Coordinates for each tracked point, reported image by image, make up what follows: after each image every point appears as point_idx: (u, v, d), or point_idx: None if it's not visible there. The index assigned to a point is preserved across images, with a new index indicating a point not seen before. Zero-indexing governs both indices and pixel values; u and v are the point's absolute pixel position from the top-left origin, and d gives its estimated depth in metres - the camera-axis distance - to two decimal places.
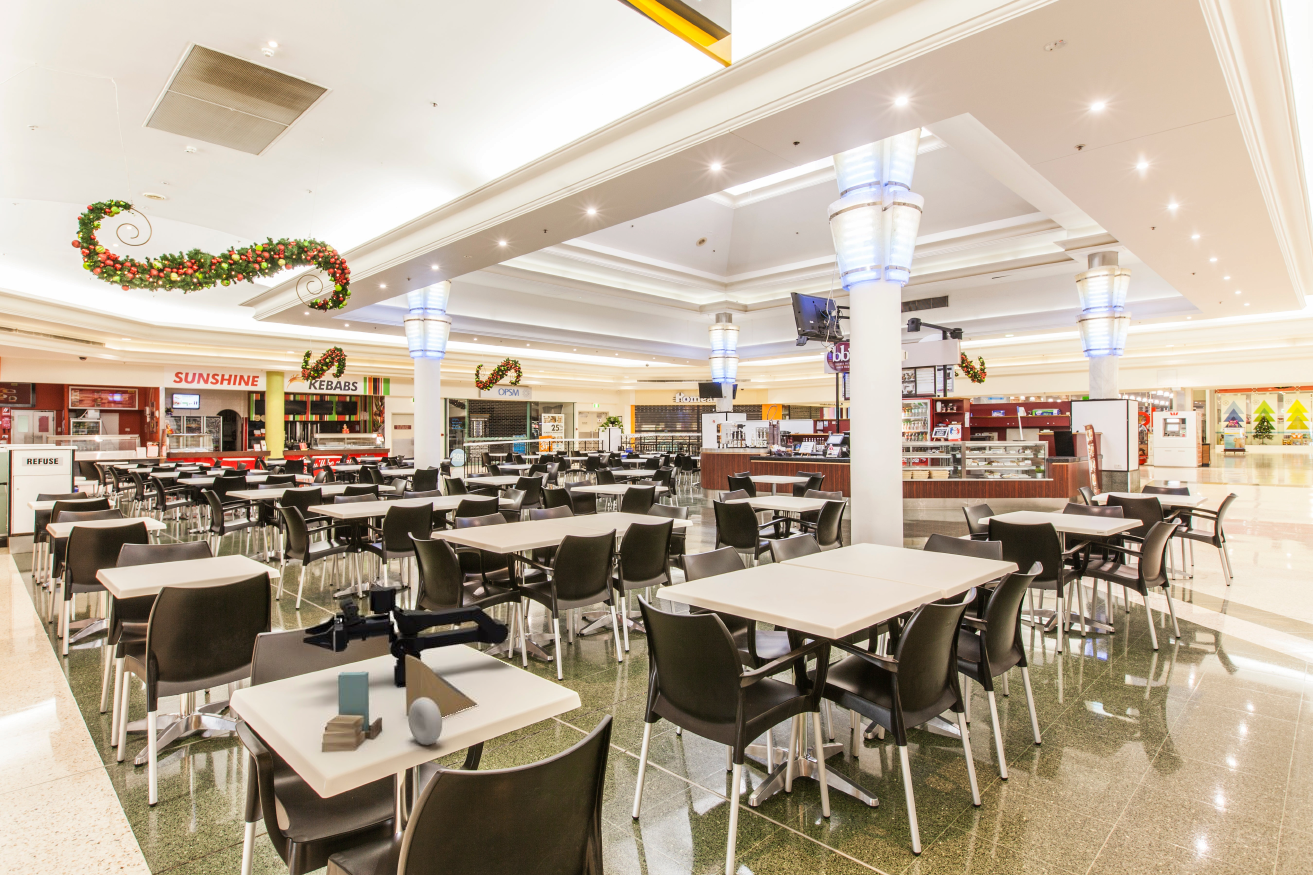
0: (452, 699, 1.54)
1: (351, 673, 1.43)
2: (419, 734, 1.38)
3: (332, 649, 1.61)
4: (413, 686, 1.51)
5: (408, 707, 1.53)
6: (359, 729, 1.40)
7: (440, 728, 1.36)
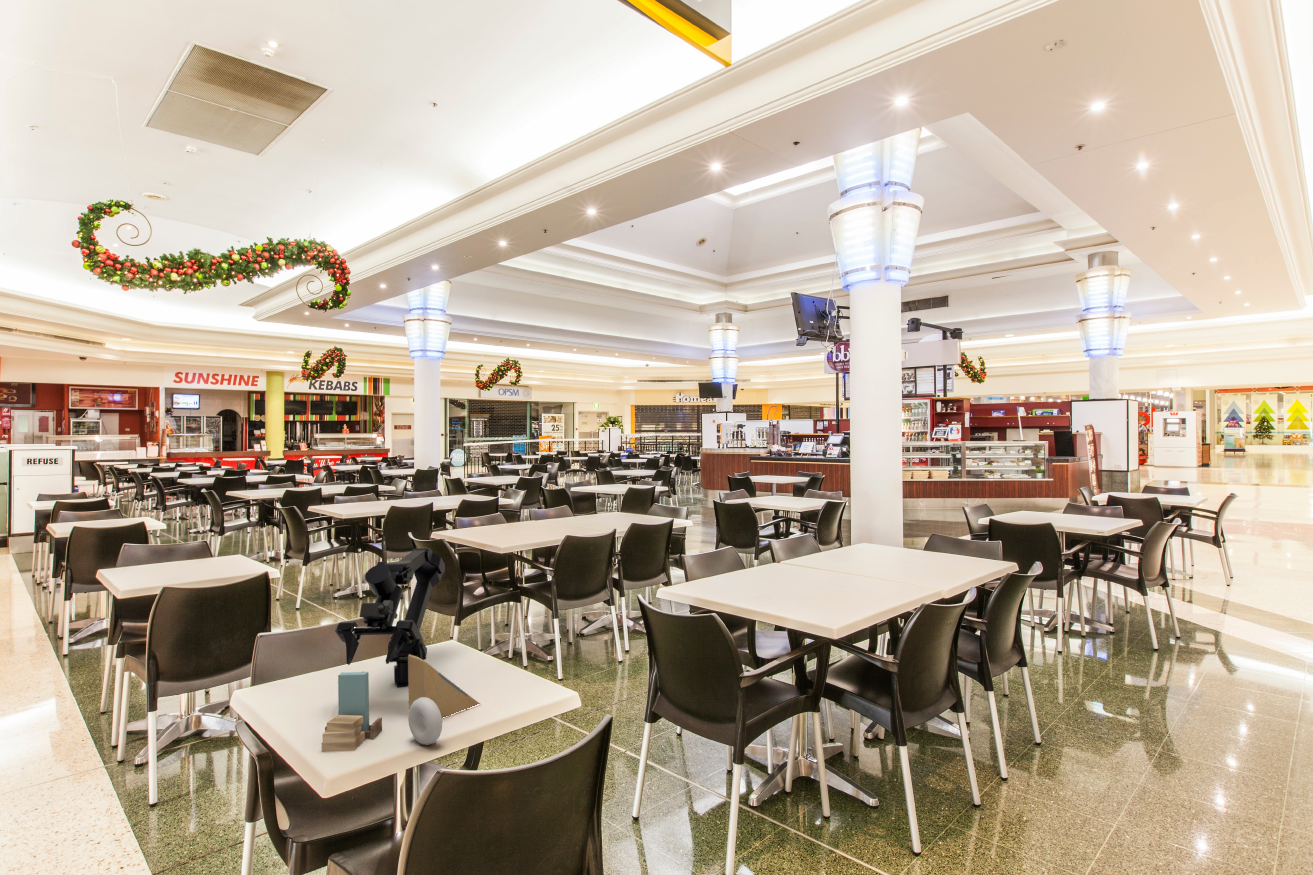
0: (455, 699, 1.54)
1: (351, 673, 1.43)
2: (419, 734, 1.38)
3: (410, 641, 1.58)
4: (416, 686, 1.51)
5: None
6: (359, 729, 1.40)
7: (440, 728, 1.36)
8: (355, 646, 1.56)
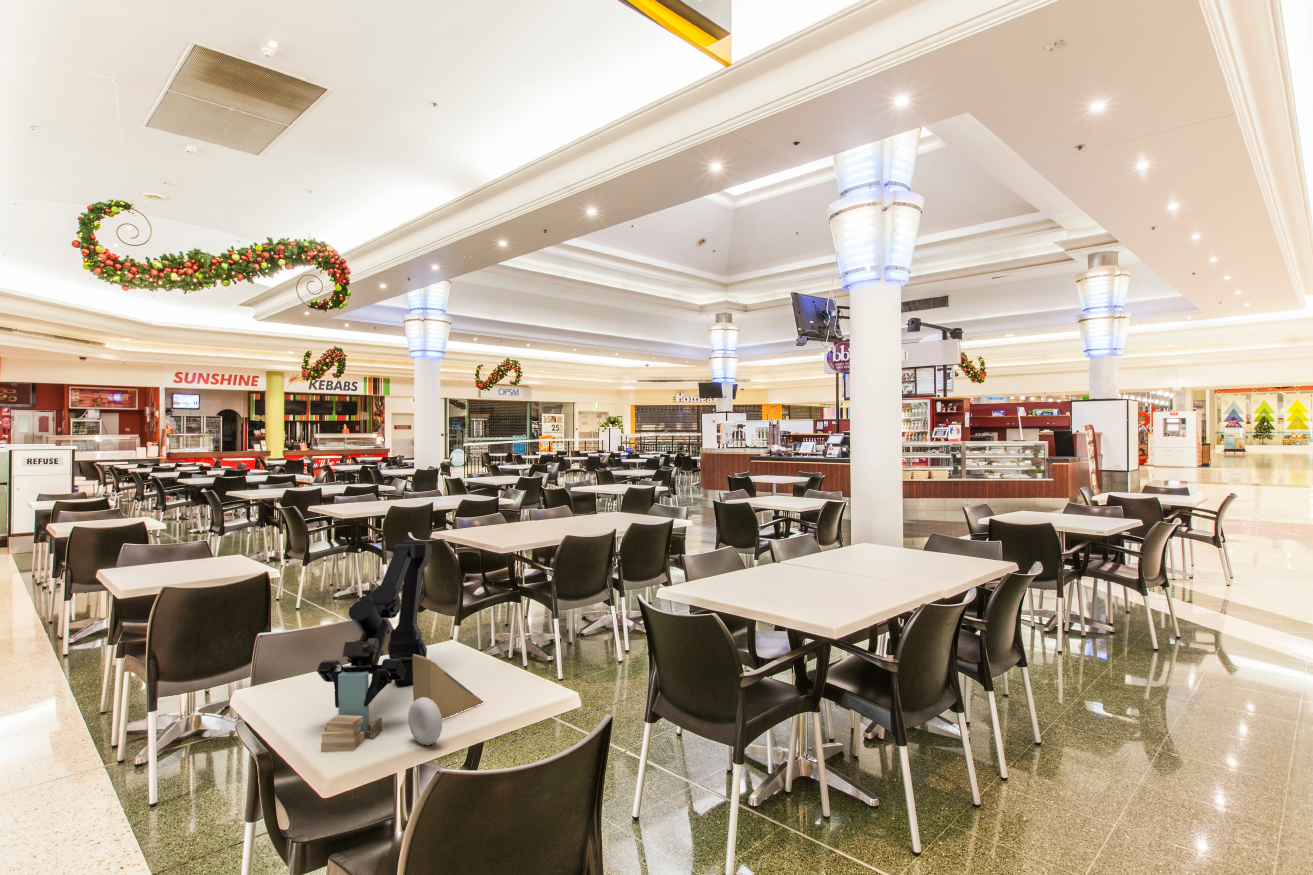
0: (460, 697, 1.55)
1: (351, 673, 1.43)
2: (419, 734, 1.38)
3: (391, 681, 1.49)
4: (422, 685, 1.51)
5: None
6: (358, 729, 1.39)
7: (440, 728, 1.36)
8: None
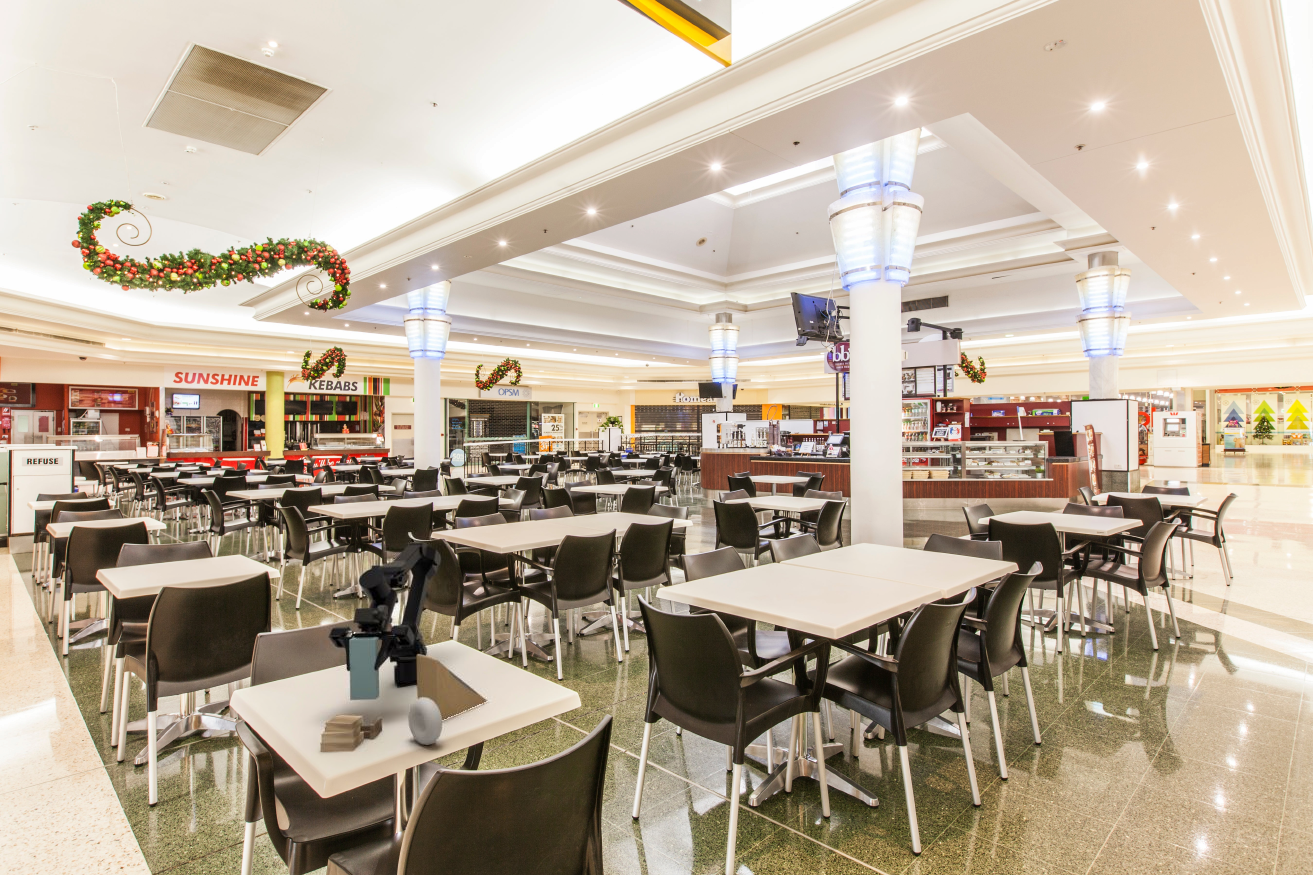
0: (465, 697, 1.55)
1: (361, 638, 1.49)
2: (419, 734, 1.38)
3: (400, 647, 1.54)
4: (427, 685, 1.52)
5: None
6: (358, 729, 1.39)
7: (440, 728, 1.36)
8: None
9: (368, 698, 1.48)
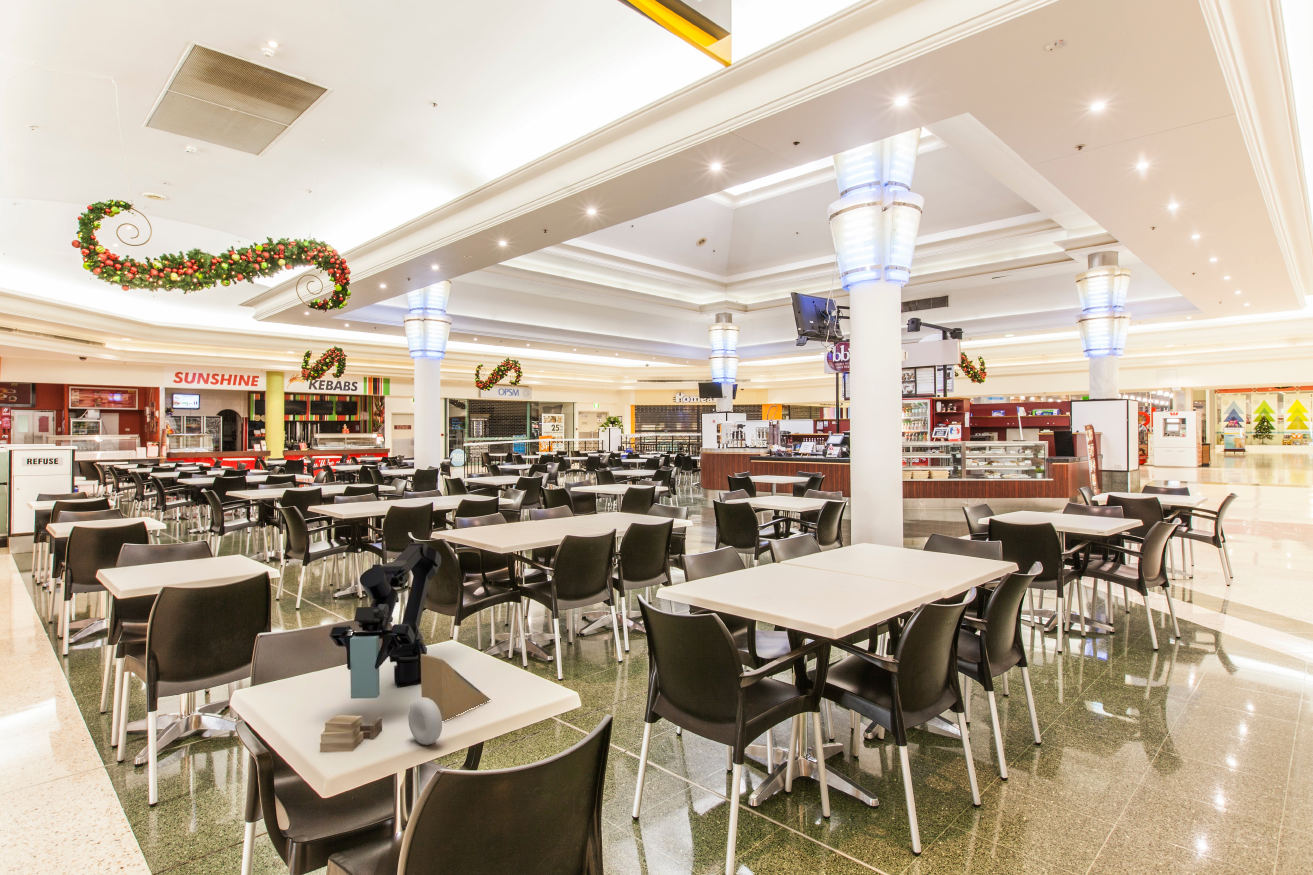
0: (469, 696, 1.56)
1: (362, 637, 1.49)
2: (419, 734, 1.38)
3: (400, 646, 1.55)
4: (431, 685, 1.52)
5: None
6: (357, 729, 1.39)
7: (440, 728, 1.36)
8: None
9: (368, 697, 1.48)
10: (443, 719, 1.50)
